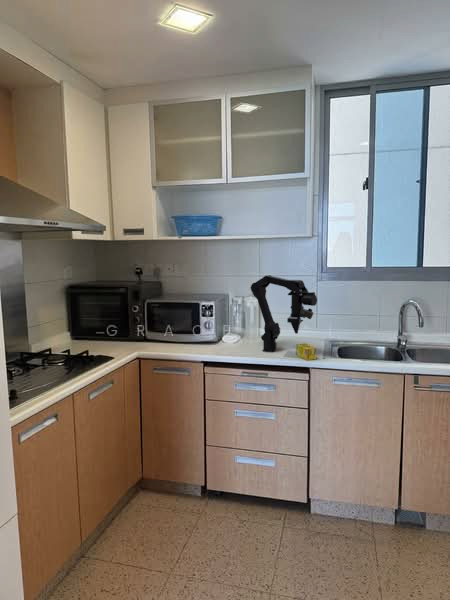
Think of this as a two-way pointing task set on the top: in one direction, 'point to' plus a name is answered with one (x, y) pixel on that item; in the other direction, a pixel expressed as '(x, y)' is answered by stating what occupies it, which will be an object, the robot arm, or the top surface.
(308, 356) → the supplement box
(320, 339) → the top surface
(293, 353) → the mat
